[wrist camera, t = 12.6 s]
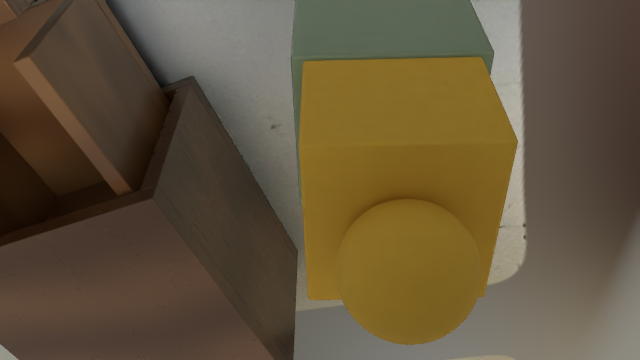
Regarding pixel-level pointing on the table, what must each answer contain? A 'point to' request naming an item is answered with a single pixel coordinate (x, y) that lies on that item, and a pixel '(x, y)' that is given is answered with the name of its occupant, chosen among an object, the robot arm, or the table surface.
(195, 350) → the cabinet
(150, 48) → the table surface
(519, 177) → the table surface
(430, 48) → the green rectangular block
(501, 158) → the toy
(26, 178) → the drawer
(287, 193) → the table surface
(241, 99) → the table surface
